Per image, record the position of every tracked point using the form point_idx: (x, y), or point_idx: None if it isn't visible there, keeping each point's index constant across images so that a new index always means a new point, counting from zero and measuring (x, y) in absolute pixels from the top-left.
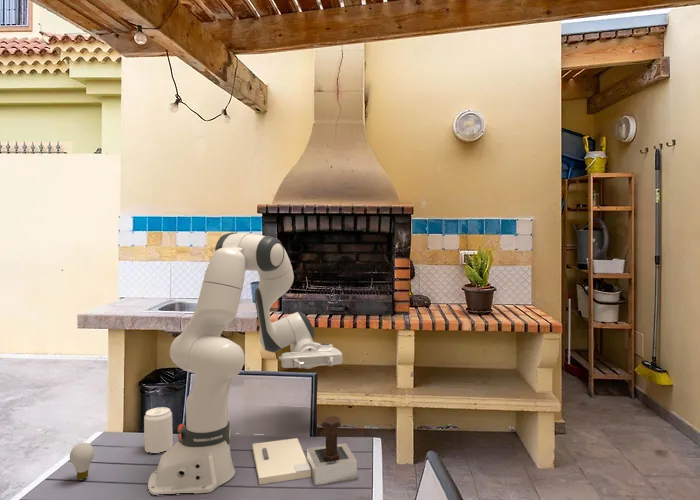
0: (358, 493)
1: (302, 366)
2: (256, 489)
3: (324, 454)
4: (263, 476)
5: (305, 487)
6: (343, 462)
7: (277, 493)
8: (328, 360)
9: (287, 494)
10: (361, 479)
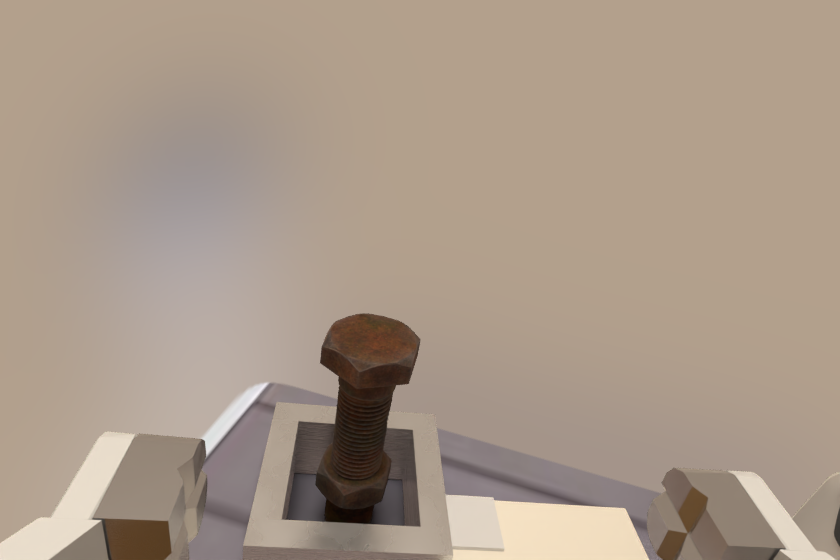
0: (307, 394)
1: (670, 504)
2: (617, 502)
3: (387, 460)
4: (612, 512)
5: (457, 464)
6: (329, 407)
7: (544, 463)
8: (182, 456)
9: (513, 450)
10: (261, 447)
